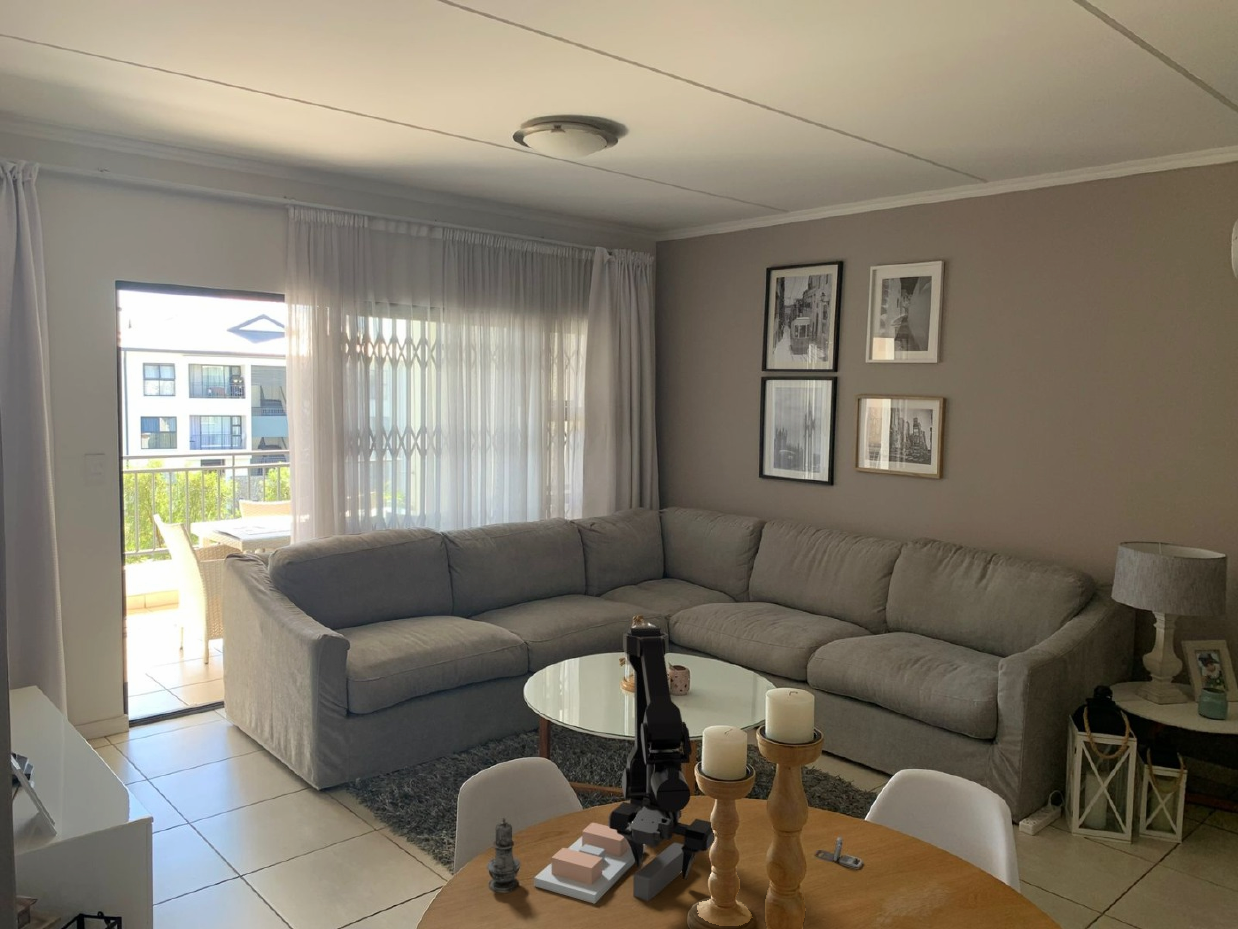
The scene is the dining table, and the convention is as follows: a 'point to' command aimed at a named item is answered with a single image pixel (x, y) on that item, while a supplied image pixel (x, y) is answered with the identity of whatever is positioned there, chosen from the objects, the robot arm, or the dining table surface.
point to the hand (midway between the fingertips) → (661, 872)
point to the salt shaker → (503, 861)
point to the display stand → (588, 864)
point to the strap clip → (843, 860)
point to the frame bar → (658, 872)
